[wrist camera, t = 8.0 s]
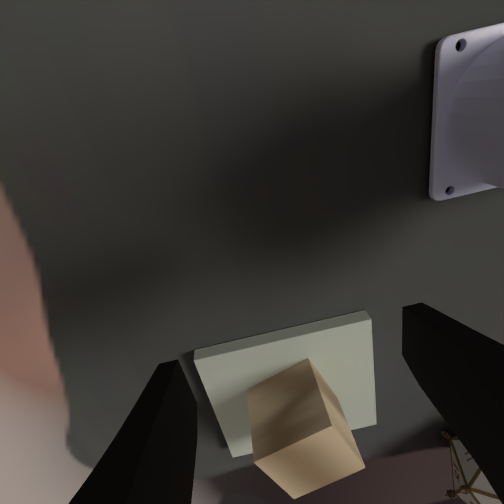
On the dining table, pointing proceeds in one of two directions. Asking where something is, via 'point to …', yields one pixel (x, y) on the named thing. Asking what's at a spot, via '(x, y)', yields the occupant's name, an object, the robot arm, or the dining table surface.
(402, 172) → the dining table surface
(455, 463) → the game die
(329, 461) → the maple block
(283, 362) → the sage tile
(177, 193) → the dining table surface
